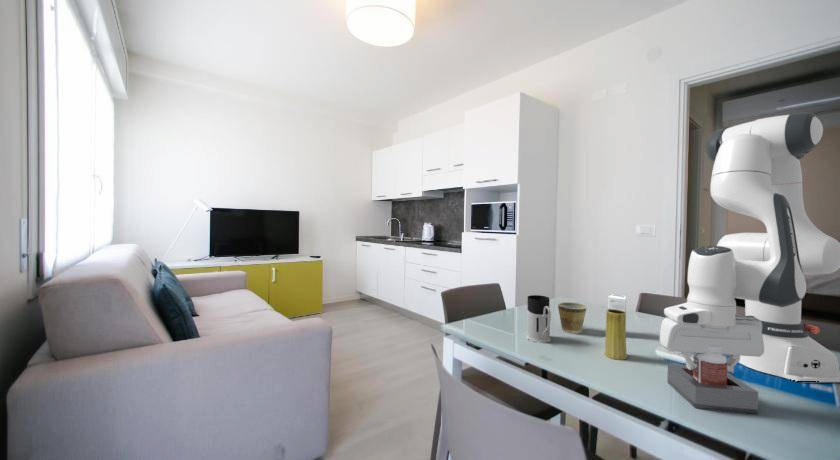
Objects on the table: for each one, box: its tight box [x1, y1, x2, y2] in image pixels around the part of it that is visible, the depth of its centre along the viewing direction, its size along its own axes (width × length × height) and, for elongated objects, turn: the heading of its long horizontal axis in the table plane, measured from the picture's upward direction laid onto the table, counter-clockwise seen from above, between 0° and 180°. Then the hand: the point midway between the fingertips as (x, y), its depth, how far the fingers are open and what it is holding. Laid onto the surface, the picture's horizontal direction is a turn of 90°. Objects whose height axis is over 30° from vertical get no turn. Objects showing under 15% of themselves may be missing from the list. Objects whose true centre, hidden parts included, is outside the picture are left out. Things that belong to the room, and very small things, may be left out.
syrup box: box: [607, 293, 627, 313], centre depth 124 cm, size 6×6×14 cm
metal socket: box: [667, 363, 759, 415], centre depth 80 cm, size 12×12×5 cm
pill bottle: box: [692, 346, 728, 385], centre depth 80 cm, size 6×6×11 cm
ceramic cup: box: [557, 301, 587, 335], centre depth 129 cm, size 13×10×10 cm
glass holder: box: [525, 294, 552, 344], centre depth 117 cm, size 9×14×15 cm, turn 2°
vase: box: [604, 309, 628, 361], centre depth 104 cm, size 6×6×14 cm
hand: (709, 370), depth 80 cm, fingers closed on pill bottle, 6 cm apart
